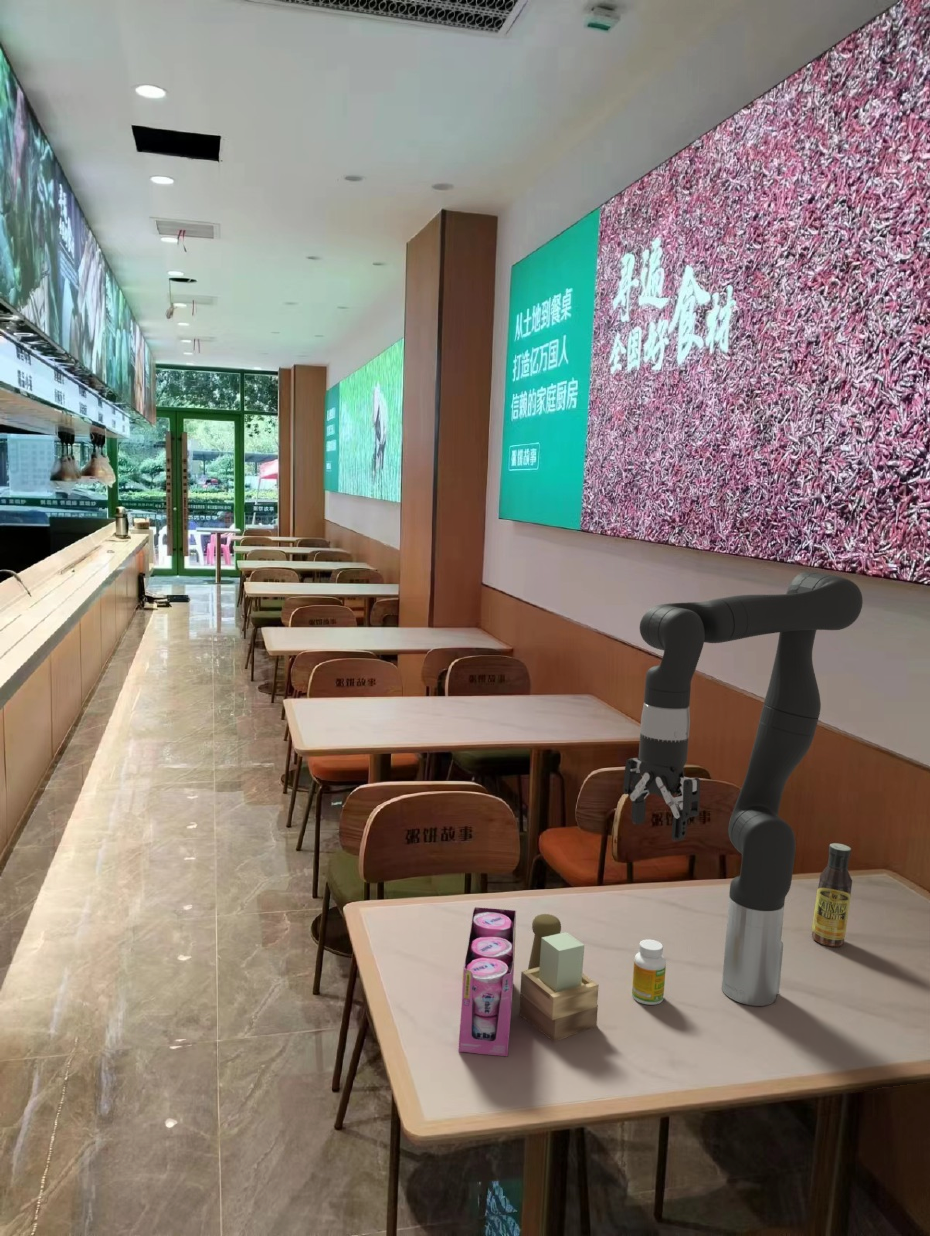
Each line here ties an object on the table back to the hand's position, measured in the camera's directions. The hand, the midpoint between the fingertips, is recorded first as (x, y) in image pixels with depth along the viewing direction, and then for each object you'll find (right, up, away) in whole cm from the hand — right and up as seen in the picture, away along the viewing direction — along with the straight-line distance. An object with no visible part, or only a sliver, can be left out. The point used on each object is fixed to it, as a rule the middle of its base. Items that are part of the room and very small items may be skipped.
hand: (657, 831), depth 146 cm
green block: (-15, -26, +4) cm, 30 cm away
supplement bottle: (+1, -32, +13) cm, 35 cm away
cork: (-17, -31, +19) cm, 40 cm away
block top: (-16, -29, +4) cm, 33 cm away
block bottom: (-16, -33, +5) cm, 36 cm away
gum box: (-27, -32, +5) cm, 42 cm away
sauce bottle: (+42, -31, +37) cm, 64 cm away
